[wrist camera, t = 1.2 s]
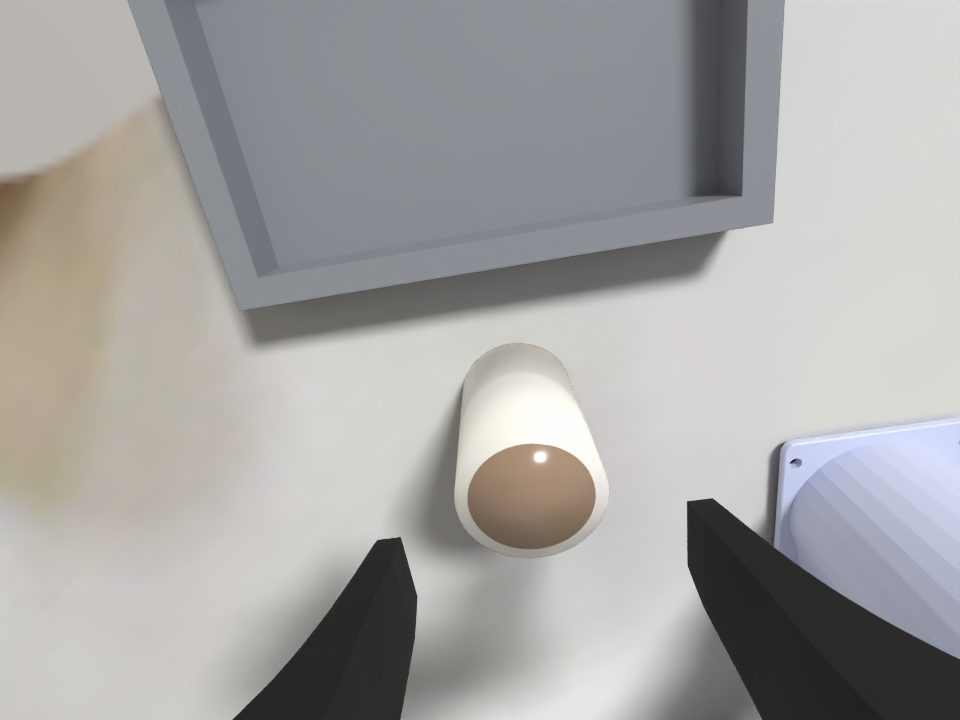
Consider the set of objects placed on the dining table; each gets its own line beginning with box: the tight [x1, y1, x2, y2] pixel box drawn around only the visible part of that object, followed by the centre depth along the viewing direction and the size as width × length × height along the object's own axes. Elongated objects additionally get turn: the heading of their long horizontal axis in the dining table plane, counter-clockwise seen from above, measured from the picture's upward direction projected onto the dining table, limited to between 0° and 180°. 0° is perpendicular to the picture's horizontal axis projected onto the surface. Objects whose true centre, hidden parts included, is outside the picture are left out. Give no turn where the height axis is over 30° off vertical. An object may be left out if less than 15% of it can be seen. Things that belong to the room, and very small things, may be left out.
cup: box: [454, 343, 609, 558], centre depth 18 cm, size 5×5×7 cm
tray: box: [128, 0, 785, 311], centre depth 16 cm, size 12×18×2 cm, turn 100°
